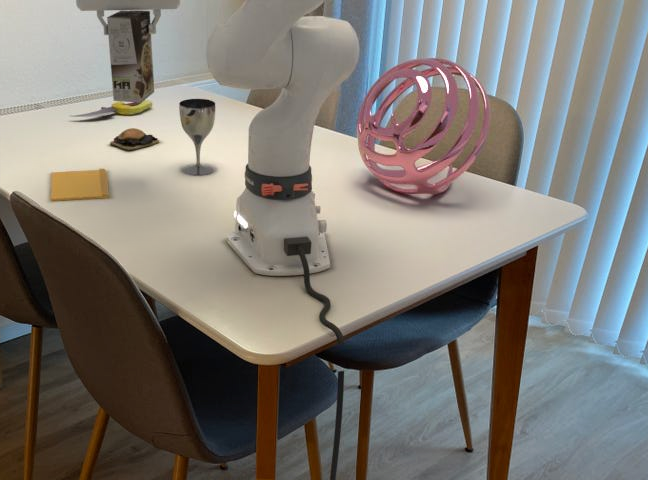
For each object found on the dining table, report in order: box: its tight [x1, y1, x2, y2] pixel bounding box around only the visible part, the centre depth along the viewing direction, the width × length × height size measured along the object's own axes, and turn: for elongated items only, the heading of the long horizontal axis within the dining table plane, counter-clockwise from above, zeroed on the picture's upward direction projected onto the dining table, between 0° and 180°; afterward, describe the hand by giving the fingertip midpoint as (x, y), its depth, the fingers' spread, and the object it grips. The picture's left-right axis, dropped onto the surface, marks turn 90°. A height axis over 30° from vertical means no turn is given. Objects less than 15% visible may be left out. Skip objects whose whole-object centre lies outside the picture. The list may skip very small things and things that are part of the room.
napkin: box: [50, 168, 110, 202], centre depth 168 cm, size 16×12×1 cm
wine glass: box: [178, 98, 216, 176], centre depth 173 cm, size 8×8×15 cm
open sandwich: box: [109, 127, 160, 151], centre depth 192 cm, size 11×8×4 cm
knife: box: [70, 99, 153, 118], centre depth 212 cm, size 8×3×25 cm
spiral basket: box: [356, 57, 492, 196], centre depth 164 cm, size 28×28×27 cm
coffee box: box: [106, 10, 155, 103], centre depth 157 cm, size 9×6×16 cm
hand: (130, 34), depth 154 cm, fingers closed on coffee box, 7 cm apart
